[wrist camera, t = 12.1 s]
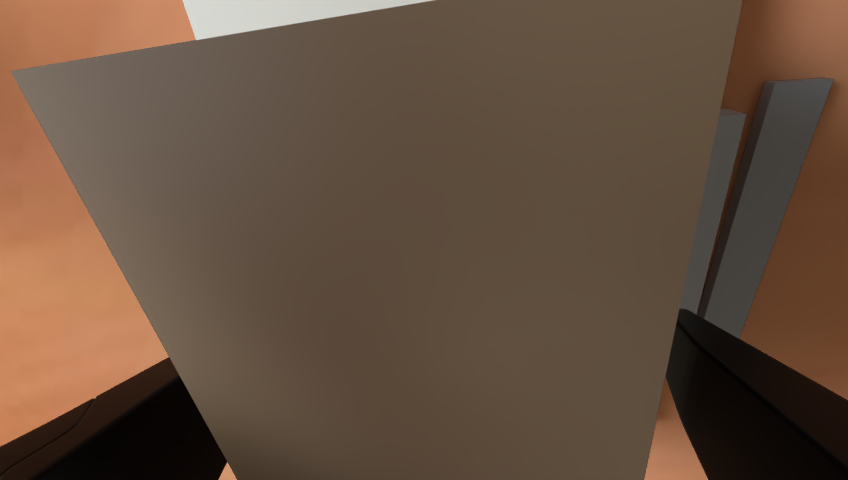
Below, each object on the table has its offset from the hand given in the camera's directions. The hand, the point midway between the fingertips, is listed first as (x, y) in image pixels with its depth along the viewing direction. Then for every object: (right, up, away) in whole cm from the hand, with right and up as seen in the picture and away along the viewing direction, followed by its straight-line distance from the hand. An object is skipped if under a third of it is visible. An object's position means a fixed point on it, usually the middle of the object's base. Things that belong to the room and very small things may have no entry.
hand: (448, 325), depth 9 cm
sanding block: (0, +1, +2) cm, 3 cm away
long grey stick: (+7, +2, +3) cm, 7 cm away
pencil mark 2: (+9, +2, +2) cm, 9 cm away
